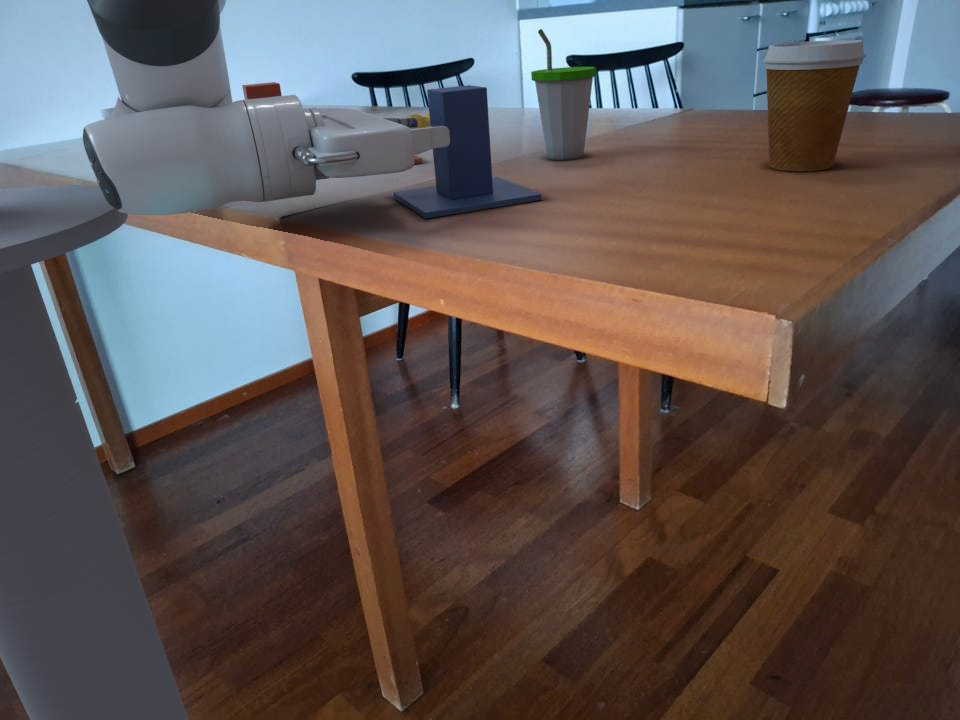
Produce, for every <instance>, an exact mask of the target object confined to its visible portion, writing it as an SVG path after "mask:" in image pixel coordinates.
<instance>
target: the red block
mask: <svg viewBox="0 0 960 720" xmlns="http://www.w3.org/2000/svg"><path fill="white" fill-rule="evenodd" d="M241 88H242V93H243V97H244V98H243V99H244V100H247V99H258V98H268V97H277V96H283V95H282V89H281V84H280V83H279V82H275V81H272V82H263V83H251V84H242V85H241Z"/></svg>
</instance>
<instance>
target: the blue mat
mask: <svg viewBox="0 0 960 720" xmlns="http://www.w3.org/2000/svg"><path fill="white" fill-rule="evenodd" d="M492 182H493V193H492V194H486V195H479V196H473V197H467V198H460V199H454V200H451V199H449V198H447V197H445V196H443V195H442V194H440V193H438V192H437V189H436V185H432V186H427V187H426V186H425V187H420V188H412V189H406V190H400V191H393V192H392V194H393V199H395V200H397V201H398V202H399V203H401V204H403V205H404V206H406V208H409V209H411V210H412V211H413V212H415V213H416V214H418V215H419V216H421V217H422V218H424V219H425V220H427V219H432V218H433V219H434V218H439V217H440V218H441V217H447V216H451V215H459V214H464V213H470V212H476V211H477V212H478V211H481V210H488V209H489V210H490V209H495V208H500V207H506V206H514V205H519V204H526V203H530V202H538V201H542V194H541V193H539V192H537V191H534V190H532V189H530V188H526V187H524V186H523V185H519V184H516V183H513V182H512V181H509V180H507V179H504V178H501V177H498V176H492Z"/></svg>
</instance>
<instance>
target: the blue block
mask: <svg viewBox="0 0 960 720" xmlns="http://www.w3.org/2000/svg"><path fill="white" fill-rule="evenodd" d="M426 92H427V102H428V104H427V105H428V113H429V114H428V115H430V126H436V125H442V126H445V127H447V128H448V129H449V135H450V144H449V145H448V146H447V147H442V148H435V149H432V156H433V157H432V158H433V168H434V177H435V178H434V179H435V186H436V189H437V192H438V193H440V194H442V195H443V196H445V197H447V198H449V199H451V200H454V199H460V198H467V197H473V196H479V195H486V194H492V193H493V182H492V177H493V169H492V153H491V152H492V151H491V137H490V121H489V119H490V117H489V103H488V88H487V86H478V85H471V84H468V85H467V84H466V85H460V86H459V85H457V86H447V87H438V88H430V89H427V90H426Z"/></svg>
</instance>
